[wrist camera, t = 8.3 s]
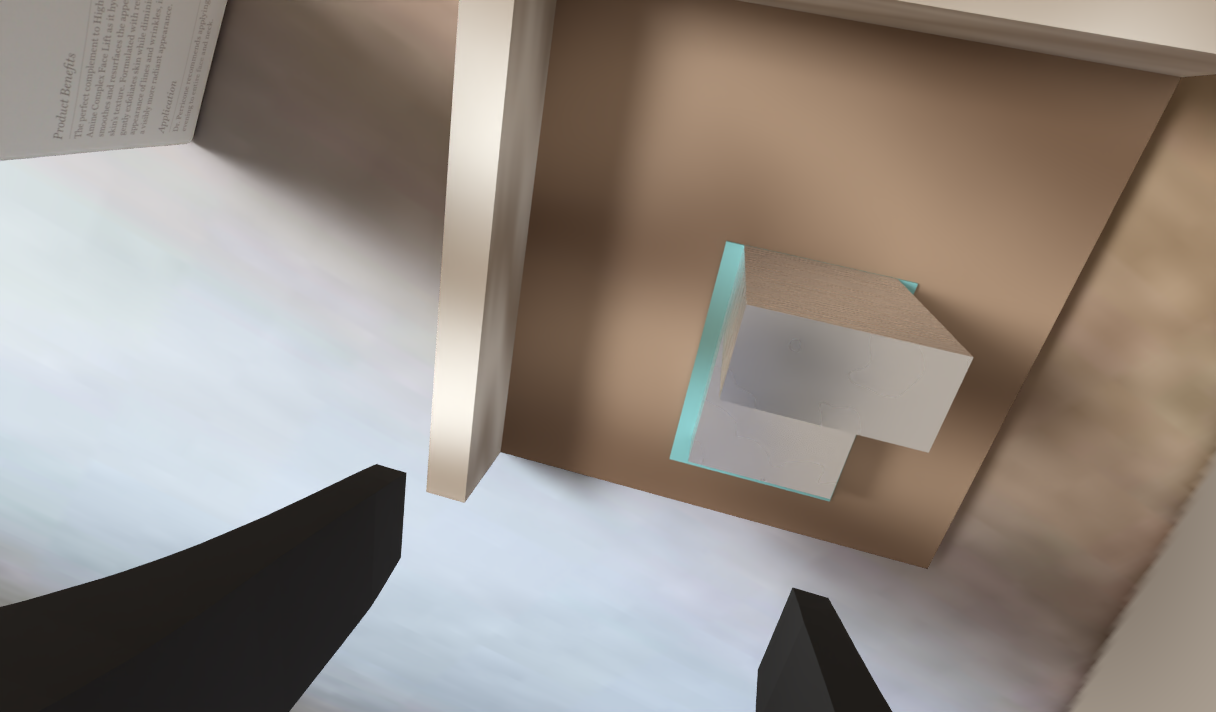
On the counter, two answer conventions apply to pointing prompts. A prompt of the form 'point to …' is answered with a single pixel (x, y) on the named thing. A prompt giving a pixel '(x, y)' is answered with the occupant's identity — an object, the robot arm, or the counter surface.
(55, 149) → the skincare box
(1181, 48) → the corner arena
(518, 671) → the counter surface
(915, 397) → the aluminium bracket
